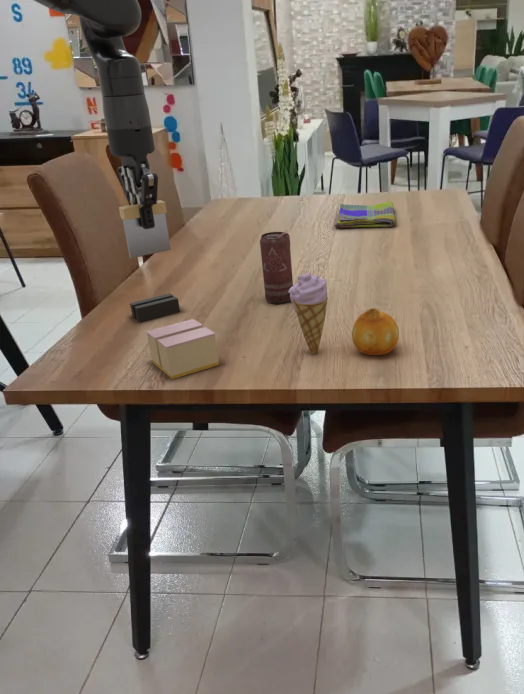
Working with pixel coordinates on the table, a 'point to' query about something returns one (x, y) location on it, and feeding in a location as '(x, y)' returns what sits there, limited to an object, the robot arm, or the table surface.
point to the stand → (155, 307)
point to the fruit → (375, 332)
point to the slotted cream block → (183, 348)
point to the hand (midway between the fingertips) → (145, 226)
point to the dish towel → (366, 215)
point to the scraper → (145, 230)
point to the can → (276, 266)
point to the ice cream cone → (310, 307)
